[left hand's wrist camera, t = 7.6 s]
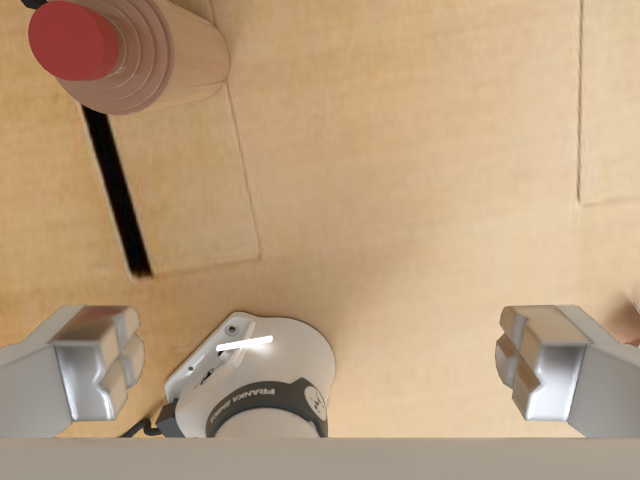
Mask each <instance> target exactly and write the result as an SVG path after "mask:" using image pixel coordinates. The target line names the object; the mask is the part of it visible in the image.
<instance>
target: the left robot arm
mask: <svg viewBox="0 0 640 480" xmlns="http://www.w3.org/2000/svg"><path fill="white" fill-rule="evenodd" d="M140 324H141V323H140V318H139V313H138V310H137V309H136V308H135V307H134V306H113V305H64V306H61V307H60V308H59V309H58V310H56V311H55V312H54V313H53V314H52V315H51V316H50V317H49V318H47V319H46V320H45V321H44V322H43V323H42V324H41V325H40V326H39V327H37V328H36V329H35V330H34V331H33V332H32V333H31V334H30V335H28V336H27V337H26V338H25V339H24V340H23V341H22V342H21V343H19V344H10V345H7V346H5V347H2V348H0V480H640V348H638V347H635V346H633V345H630V344H621V343H619V342H618V341H617V340H616V339H615V338H614V337H613V336H612V335H611V334H609V333H608V332H607V331H606V330H605V329H604V328H603V327H602V326H600V325H599V324H598V323H597V322H596V321H595V320H594V319H593V318H592V317H590V316H589V315H588V314H587V313H586V312H585V311H584V310H583V309H581V308H580V307H579V306H576V305H573V304H572V305H531V306H507V307H504V309H503V311H502V313H501V318H500V323H499V324H500V326H501V327H502V329H503V330H504V332H505V333H504V334H503V335H502V336H501V337H500V338H499V339H498V340H497V342H496V350H495V360H496V368H497V371H498V374H499V377H500V378H501V380H502V382H503V384H505V385H506V386H508V387H510V388H511V389H513V394H512V399H513V401H514V402H515V404H516V406H517V407H518V409H519V411H520V412H521V414H522V416H523V417H524V419H525V420H527V421H564V422H568V424H569V425H570V426H572V427H573V428H575V429H576V430H577V431H579V432H580V433H581V434H583V435H584V436H585V437H587V438H328V422H327V413H326V411H327V400H328V396H329V391H330V388H331V384H332V381H333V379H334V375H335V358H334V354H333V351H332V349H331V347H330V345H329V343H328V342H327V340H326V339H325V338H324V337H323V336H322V335H321V334H320V333H319V332H318V331H317V330H315V329H314V328H312V327H311V326H309V325H307V324H305V323H303V322H300V321H298V320H294V319H290V318H282V317H268V318H264V317H257V316H254V315H252V314H248V313H245V312H234V313H232V314H231V315H230V316H229V317H228V318H227V319H226V320H225V321H224V322H223V323H222V324H221V325H220V326H219V327H218V328H217V329H216V330H215V331H214V332H213V333H212V334H211V335H210V336H209V337H208V338H207V339H206V340H205V341H204V342H203V343H202V344H201V345H200V346H199V347H198V348H197V349H196V350H195V351H194V352H193V353H192V354H191V355H190V356H189V357H188V358H187V359H186V360H185V362H184V363H183V364H182V365H181V366H180V367H179V368H178V369H177V370H176V371H175V372H174V373H173V374H172V375H171V376H170V377H169V378H168V379H167V380H166V382H165V386H164V390H165V394H166V397H167V400H168V402H169V404H167V405H165V406H163V408H162V410H161V412H160V415H159V417H158V419H157V421H156V423H155V424H156V426H157V427H158V428H151V421H150V420H148V419H147V420H142V421H140V422H139V423H137V424H136V425H135V426H134V427H133V428H131V429H130V430H129V431H128V432H127V433H126V434H125V435H124V436H123V437H122V438H53V437H55V436H56V435H57V434H59V433H60V432H62V431H63V430H64V429H66V428H67V427H68V426H70V425H71V424H72V422H76V421H111V420H115V419H116V417H117V416H118V414H119V412H120V411H121V409H122V407H123V406H124V404H125V402H126V401H127V399H128V394H127V389H129V388H130V387H132V386H134V385H135V384H137V382H138V380H139V378H140V376H141V375H142V371H143V367H144V363H145V349H144V342H143V340H142V339H141V338H140V337H139V336H138V335H137V334H136V333H135V332H136V330H137V329H138V327H139V326H140ZM230 327H234V328H235V329H234V330H232V329H231V328H230ZM175 398H177V399H179V400H176V399H175ZM143 427H144V429H143V430H144V433H145V434H146V435H149V436H155V435H160V434H163V435H164V436H165V438H131V437H132V436H133V435H134V434H135V433H136V432H138V431H139V430H140V429H141V428H143Z"/></svg>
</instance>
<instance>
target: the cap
mask: <svg viewBox="0 0 640 480" xmlns="http://www.w3.org/2000/svg"><path fill="white" fill-rule="evenodd" d="M28 36H29V42H30V46H31V49H32V52H33V54H34V56H35V57H36V59H37V61H38V62H39V63H40V64H41V65H42V67H43V68H44V69H46V70H47V71H48V72H49V73H51V74H52V75H54V76H56V77H58V78H60V79H64V80H68V81H91V80H97V79H100V78H102V77H104V76H106V75H107V74H108V73H109V72H110V71H111V70H112V69H113V67H114V65H115V63H116V60H117V56H118V43H117V39H116V35H115V33H114V31H113V29H112V27H111V25H110V24H109V23H108V21H107V20H106V19H105V18H104V17H103V16H102V15H101V14H99V13H98V12H96V11H95V10H93V9H90V8H88V7H85V6H81V5H78V4H75V3H71V2H68V1H61V0H57V1H50V2H48V3H45V4H44V5H42V6H41V7H39V8H38V9H37V10H36V11H35V13H34V14H33V16H32V18H31V20H30V24H29V30H28Z"/></svg>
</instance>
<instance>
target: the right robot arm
mask: <svg viewBox="0 0 640 480" xmlns="http://www.w3.org/2000/svg"><path fill="white" fill-rule="evenodd" d="M21 1H22V2H23V4H24V5H25V6H26V7H27V8H32V9H36V10H37V9H38V8H39V7H41V6H42V5H44V4H45V3H48V1H47V0H21Z"/></svg>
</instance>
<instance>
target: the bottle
mask: <svg viewBox="0 0 640 480" xmlns="http://www.w3.org/2000/svg"><path fill="white" fill-rule="evenodd" d="M50 1H57V0H50ZM61 1H68V2H71V3H75V4H78V5H81V6H85V7H88V8H90V9H93V10H95V11H96V12H98V13H99V14H101V15H102V16H103V17H104V18H105V19H106V20H107V21H108V23H109V24H110V25H111V27H112V29H113V31H114V33H115V35H116V39H117V43H118V56H117V60H116V63H115V65H114V67H113V69H112V70H111V71H110V72H109V73H108V74H107V75H106V76H104V77H102V78H100V79H97V80H91V81H68V80H64V79H60V78H58V77H56V76H55V77H56V79H57V80H58V82H59V83H60V84H61V85H62V87H63V88H64V89H65V90H66V91H67V92H68V93H69V94H70V95H71V96H72V97H73V98H75V99H76V100H77V101H78V102H80V103H82V104H83V105H85V106H86V107H88V108H90V109H92V110H95V111H98V112H101V113H105V114H110V115H128V114H134V113H139V112H144V111H149V110H153V109H158V108H163V107H168V106H173V105H178V104H183V103H188V102H193V101H198V100H203V99H206V98H208V97H210V96H212V95H214V94H215V93H216V92H217V91H219V90H220V88H221V87H222V86H223V84H224V83H225V81H226V79H227V77H228V73H229V69H230V54H229V50H228V46H227V43H226V41H225V39H224V37H223V36H222V34H221V33H220V32H219V30H218V29H217V28H216V27H215V26H214V25H213V24H212V23H210V22H209V21H207V20H206V19H204V18H202V17H200V16H198V15H196V14H194V13H192V12H190V11H188V10H186V9H184V8H182V7H180V6H178V5H176V4H174V3H172V2H170V1H168V0H61Z"/></svg>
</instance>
